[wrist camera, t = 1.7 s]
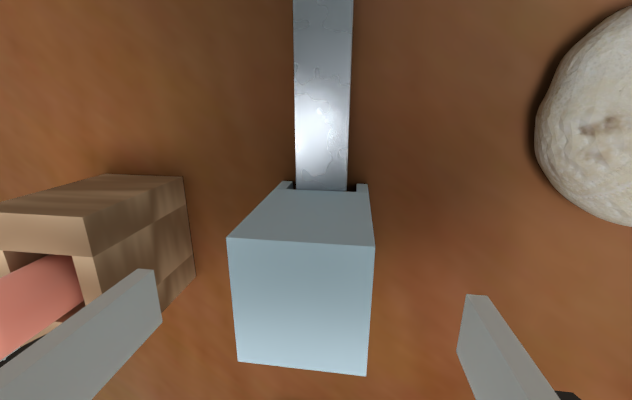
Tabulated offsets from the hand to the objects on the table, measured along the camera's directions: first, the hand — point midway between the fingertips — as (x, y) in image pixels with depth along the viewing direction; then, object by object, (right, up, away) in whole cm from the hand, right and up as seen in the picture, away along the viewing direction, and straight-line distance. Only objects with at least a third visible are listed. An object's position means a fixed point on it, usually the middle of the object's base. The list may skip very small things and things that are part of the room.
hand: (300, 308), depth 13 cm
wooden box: (-12, +3, +10) cm, 16 cm away
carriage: (+1, +3, +8) cm, 9 cm away
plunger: (-12, +2, +7) cm, 14 cm away
